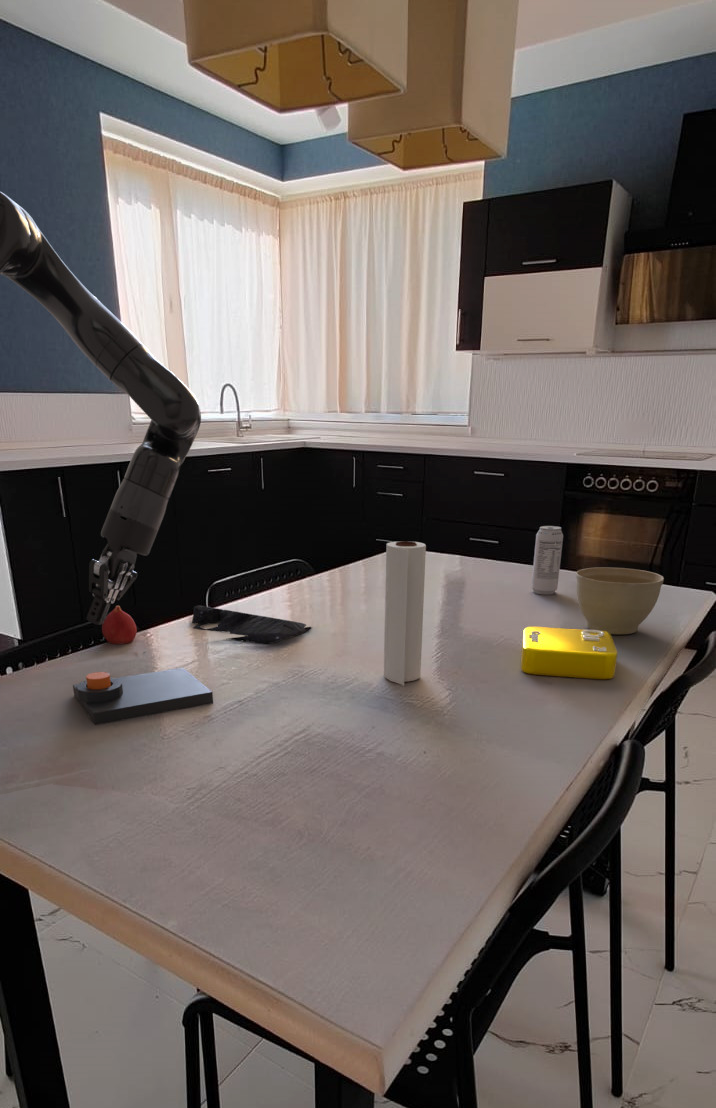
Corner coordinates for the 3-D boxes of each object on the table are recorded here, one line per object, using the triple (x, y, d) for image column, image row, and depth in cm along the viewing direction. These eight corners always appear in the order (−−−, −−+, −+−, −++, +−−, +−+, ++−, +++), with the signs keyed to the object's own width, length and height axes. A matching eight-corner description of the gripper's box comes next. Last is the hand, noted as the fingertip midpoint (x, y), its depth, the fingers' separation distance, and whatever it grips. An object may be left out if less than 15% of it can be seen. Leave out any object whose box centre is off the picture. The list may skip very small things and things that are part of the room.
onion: (97, 652, 136) (92, 607, 133) (118, 643, 141) (113, 600, 137) (124, 656, 134) (119, 610, 131) (145, 647, 139) (140, 603, 135)
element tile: (521, 648, 140) (524, 622, 138) (607, 654, 137) (610, 628, 135) (520, 674, 126) (523, 646, 125) (615, 681, 124) (619, 652, 122)
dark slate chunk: (275, 651, 137) (274, 625, 135) (177, 635, 146) (175, 610, 144) (318, 631, 149) (317, 607, 148) (225, 617, 158) (223, 594, 157)
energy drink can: (556, 590, 184) (564, 526, 178) (556, 595, 179) (564, 529, 173) (531, 588, 185) (537, 525, 180) (530, 594, 180) (536, 528, 174)
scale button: (90, 692, 108) (88, 680, 107) (85, 685, 110) (83, 673, 110) (113, 688, 109) (112, 676, 109) (107, 681, 112) (106, 670, 111)
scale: (91, 726, 105) (87, 702, 103) (70, 697, 115) (67, 675, 113) (213, 704, 113) (211, 681, 111) (184, 678, 123) (182, 657, 122)
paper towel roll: (396, 668, 129) (400, 538, 120) (427, 675, 126) (433, 542, 117) (371, 679, 123) (374, 544, 115) (403, 687, 120) (408, 548, 112)
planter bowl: (672, 632, 151) (681, 577, 146) (618, 645, 142) (627, 587, 138) (605, 615, 163) (612, 563, 158) (552, 626, 154) (558, 571, 150)
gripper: (130, 514, 123) (91, 614, 126) (94, 499, 110) (51, 610, 112) (172, 533, 123) (132, 633, 125) (141, 520, 110) (96, 632, 112)
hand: (93, 622), depth 119 cm, fingers closed
